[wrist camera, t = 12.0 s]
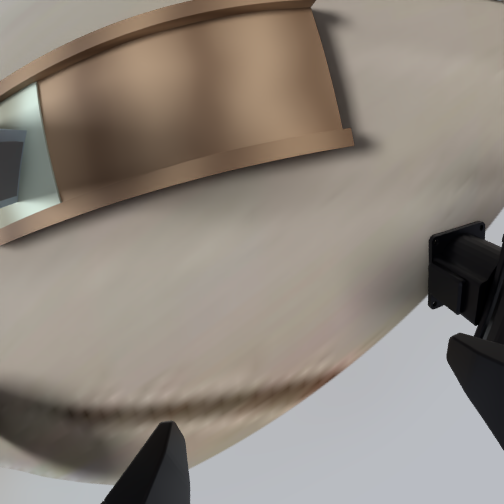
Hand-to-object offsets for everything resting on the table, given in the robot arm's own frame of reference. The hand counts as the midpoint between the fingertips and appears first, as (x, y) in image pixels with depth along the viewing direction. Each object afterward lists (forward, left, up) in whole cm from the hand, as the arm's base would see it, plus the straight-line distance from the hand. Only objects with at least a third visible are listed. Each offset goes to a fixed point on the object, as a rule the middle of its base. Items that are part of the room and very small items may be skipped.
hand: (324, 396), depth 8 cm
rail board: (+7, -11, -13) cm, 18 cm away
